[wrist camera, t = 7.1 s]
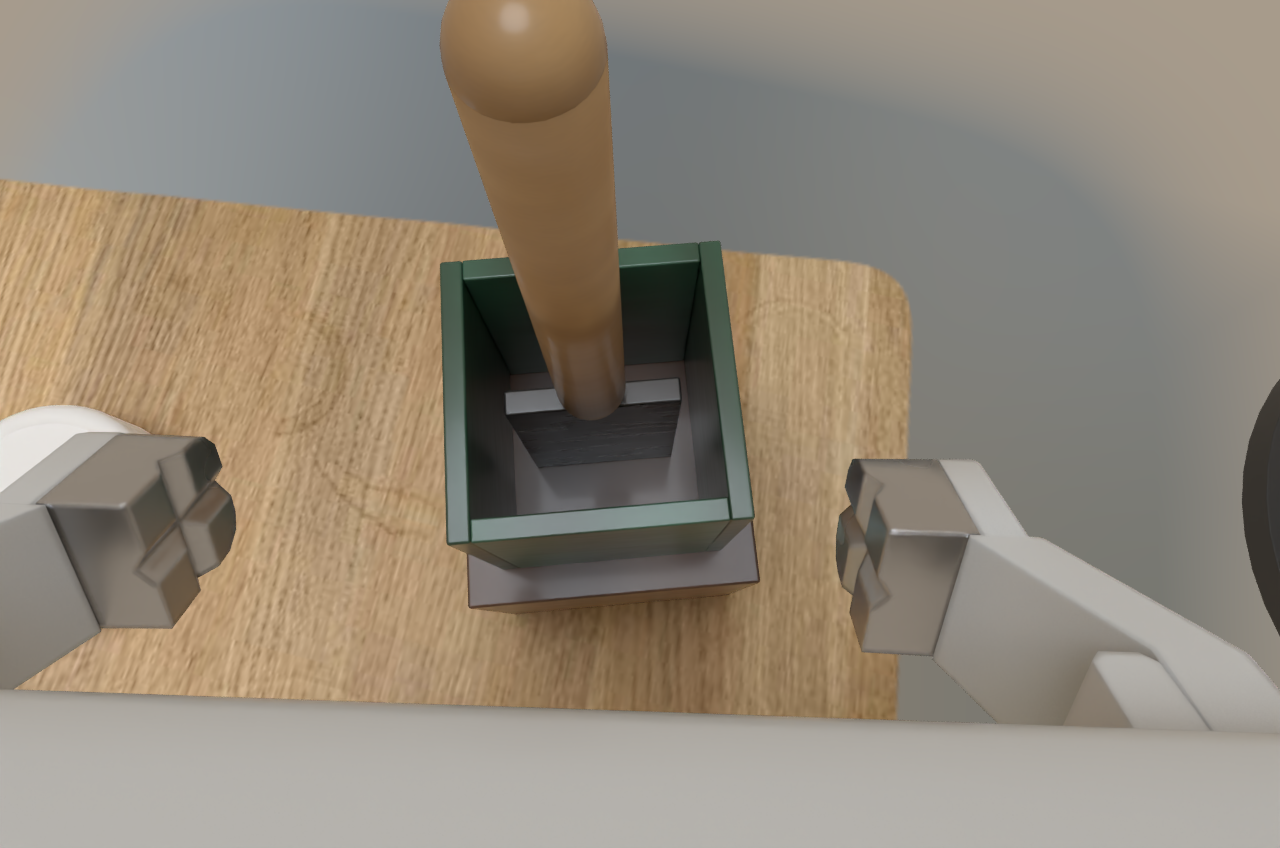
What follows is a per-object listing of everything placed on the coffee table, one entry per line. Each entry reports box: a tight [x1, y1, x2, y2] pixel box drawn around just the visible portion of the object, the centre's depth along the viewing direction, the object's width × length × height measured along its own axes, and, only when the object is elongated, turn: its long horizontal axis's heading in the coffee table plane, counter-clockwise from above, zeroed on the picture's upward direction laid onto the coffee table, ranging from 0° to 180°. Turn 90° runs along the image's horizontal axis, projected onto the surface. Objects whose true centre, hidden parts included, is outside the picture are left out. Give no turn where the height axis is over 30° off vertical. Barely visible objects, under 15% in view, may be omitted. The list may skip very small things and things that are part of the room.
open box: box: [440, 241, 760, 614], centre depth 29 cm, size 10×10×18 cm
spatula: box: [440, 0, 682, 467], centre depth 18 cm, size 5×2×21 cm, turn 95°
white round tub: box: [0, 405, 150, 492], centre depth 35 cm, size 10×10×4 cm
